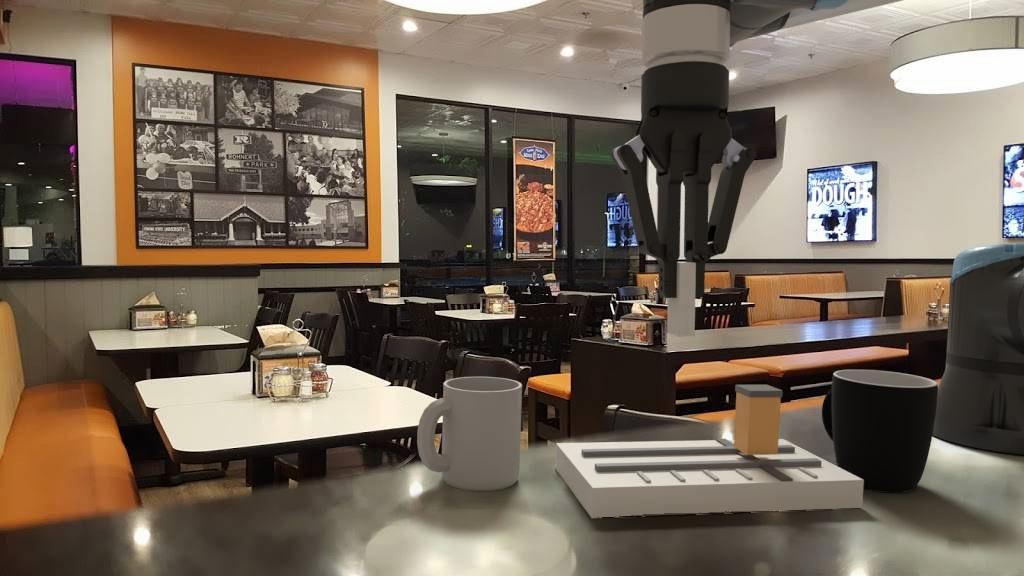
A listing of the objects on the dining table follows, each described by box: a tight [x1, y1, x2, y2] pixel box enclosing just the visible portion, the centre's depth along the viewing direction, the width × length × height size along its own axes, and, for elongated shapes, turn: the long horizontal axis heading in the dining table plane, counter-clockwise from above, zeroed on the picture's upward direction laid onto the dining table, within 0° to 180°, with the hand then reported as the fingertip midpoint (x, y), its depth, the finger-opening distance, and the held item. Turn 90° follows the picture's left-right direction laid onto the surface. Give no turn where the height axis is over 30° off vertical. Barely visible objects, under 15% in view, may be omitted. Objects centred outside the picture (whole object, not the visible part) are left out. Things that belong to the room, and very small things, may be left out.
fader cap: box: [733, 384, 784, 455], centre depth 68 cm, size 3×3×6 cm
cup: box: [416, 376, 523, 492], centre depth 67 cm, size 7×10×9 cm
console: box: [554, 438, 864, 519], centre depth 67 cm, size 24×13×3 cm, turn 100°
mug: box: [821, 369, 939, 494], centre depth 71 cm, size 12×9×10 cm
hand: (680, 334), depth 66 cm, fingers closed
